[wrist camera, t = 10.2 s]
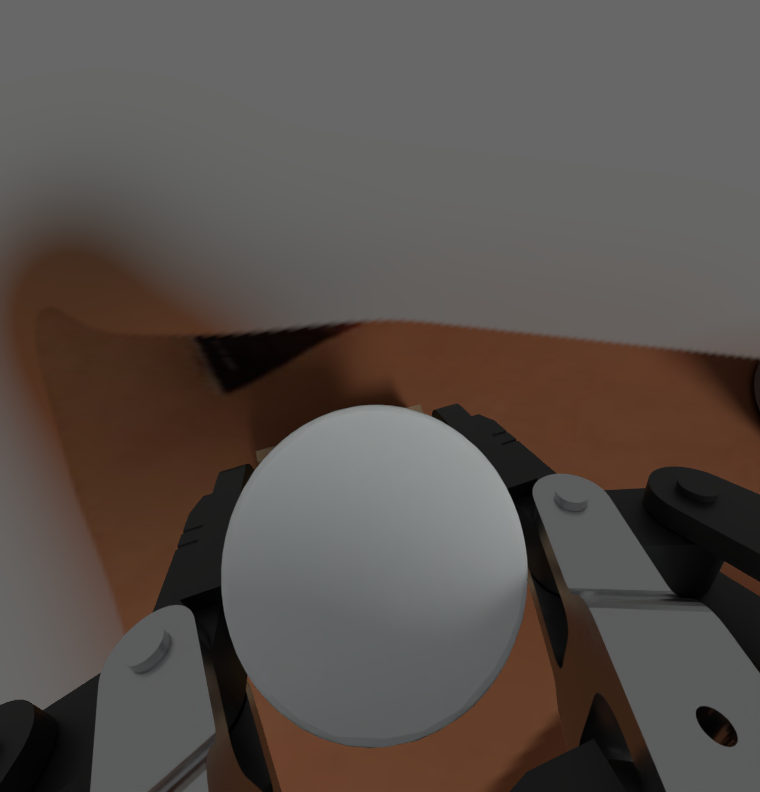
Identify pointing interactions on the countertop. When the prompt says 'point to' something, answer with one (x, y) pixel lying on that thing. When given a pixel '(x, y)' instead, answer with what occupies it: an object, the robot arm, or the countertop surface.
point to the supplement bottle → (374, 576)
